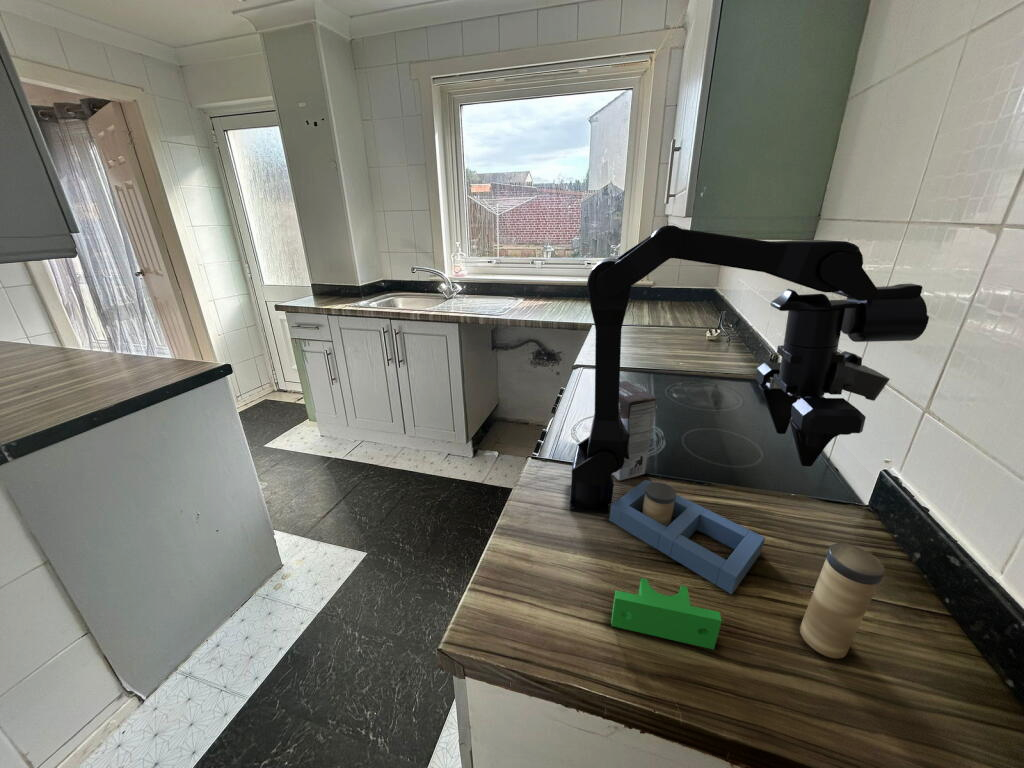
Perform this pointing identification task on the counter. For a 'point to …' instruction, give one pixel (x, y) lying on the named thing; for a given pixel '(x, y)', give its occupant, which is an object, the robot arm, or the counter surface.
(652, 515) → the short wooden cylinder
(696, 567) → the socket block
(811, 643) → the wooden peg
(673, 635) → the pipe clamp
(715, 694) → the counter surface
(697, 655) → the counter surface
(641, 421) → the coffee box
